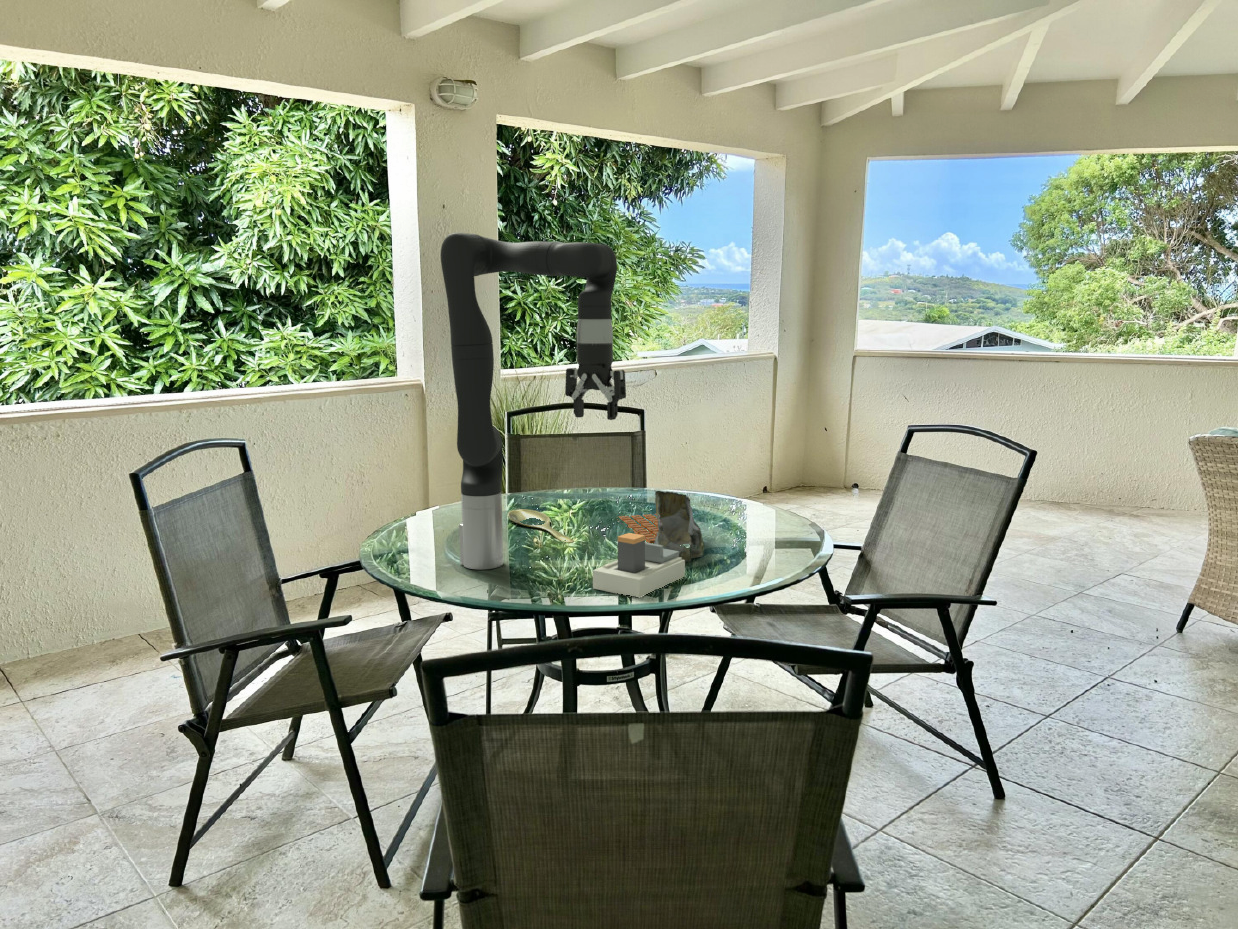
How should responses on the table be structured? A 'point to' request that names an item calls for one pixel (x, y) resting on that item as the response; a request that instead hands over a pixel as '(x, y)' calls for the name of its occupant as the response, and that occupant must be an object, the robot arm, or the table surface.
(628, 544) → the plug
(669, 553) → the grey l-shaped block
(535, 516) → the spoon
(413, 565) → the table surface
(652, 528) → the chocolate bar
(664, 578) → the socket block
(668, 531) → the stone
